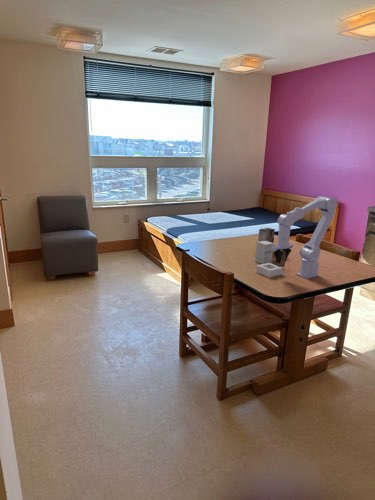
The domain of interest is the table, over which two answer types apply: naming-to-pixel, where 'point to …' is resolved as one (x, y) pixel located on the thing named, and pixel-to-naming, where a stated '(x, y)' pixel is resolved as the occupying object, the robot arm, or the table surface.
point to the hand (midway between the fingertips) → (280, 262)
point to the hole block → (269, 270)
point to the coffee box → (266, 235)
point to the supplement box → (264, 252)
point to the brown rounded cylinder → (282, 260)
